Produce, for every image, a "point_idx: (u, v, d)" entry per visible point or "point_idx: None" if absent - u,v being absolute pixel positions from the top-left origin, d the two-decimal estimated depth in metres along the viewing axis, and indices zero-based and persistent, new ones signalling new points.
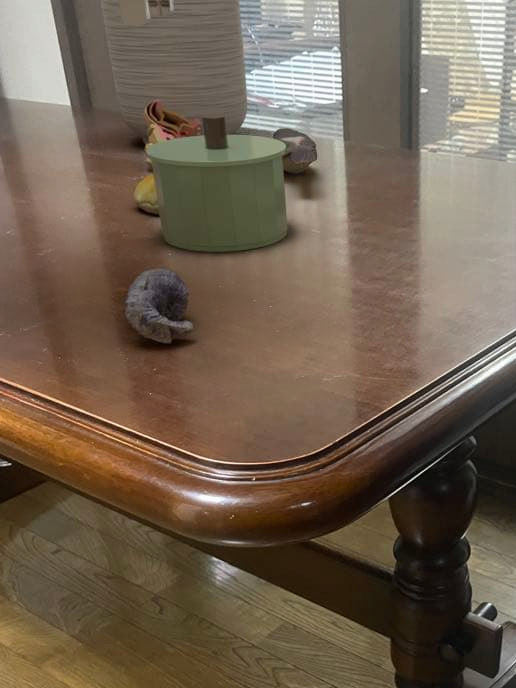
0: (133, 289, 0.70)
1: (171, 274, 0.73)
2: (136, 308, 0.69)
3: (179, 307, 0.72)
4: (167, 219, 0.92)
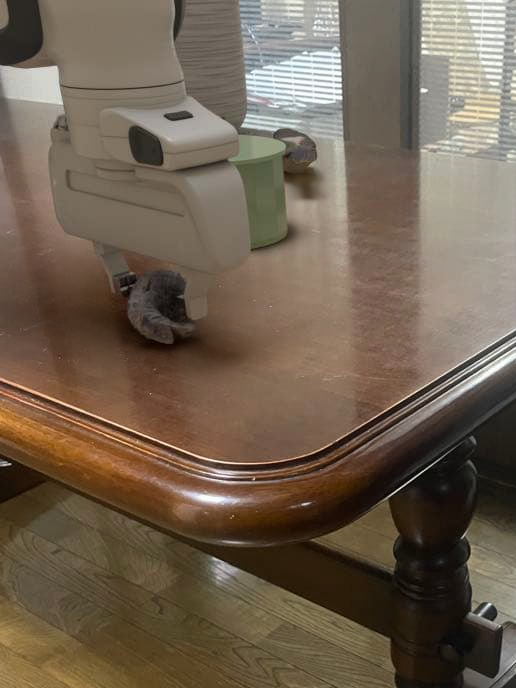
0: (135, 290, 0.70)
1: (173, 274, 0.73)
2: (138, 308, 0.69)
3: None
4: None
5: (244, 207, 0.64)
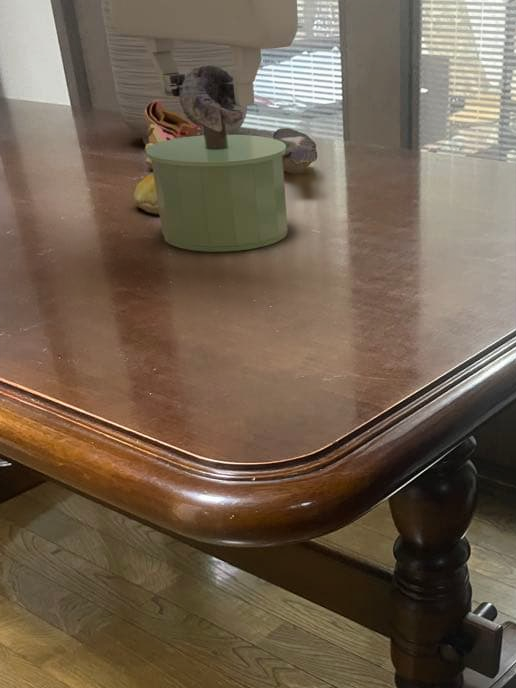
0: (187, 76, 0.74)
1: (221, 70, 0.78)
2: (191, 91, 0.73)
3: None
4: (167, 219, 0.92)
5: None
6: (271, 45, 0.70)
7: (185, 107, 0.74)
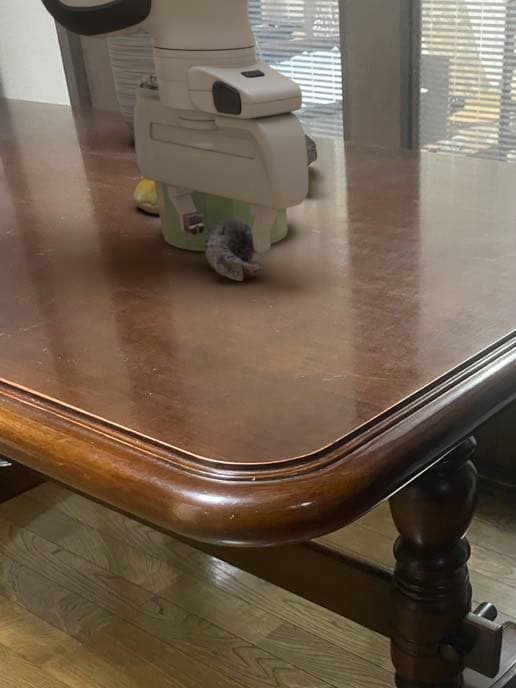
0: (212, 234, 0.83)
1: (242, 223, 0.86)
2: (215, 249, 0.82)
3: (249, 251, 0.85)
4: (167, 219, 0.92)
5: (304, 152, 0.77)
6: (284, 207, 0.77)
7: (210, 262, 0.83)
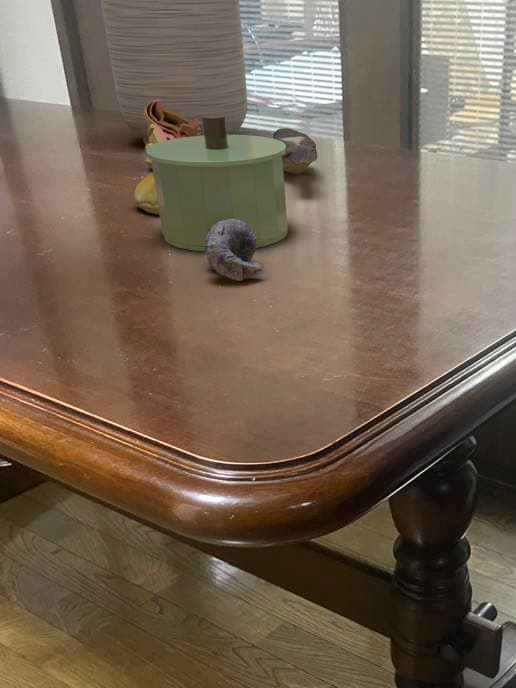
0: (212, 234, 0.83)
1: (242, 223, 0.86)
2: (215, 249, 0.82)
3: (249, 251, 0.85)
4: (167, 219, 0.92)
5: None
6: None
7: (210, 262, 0.83)
